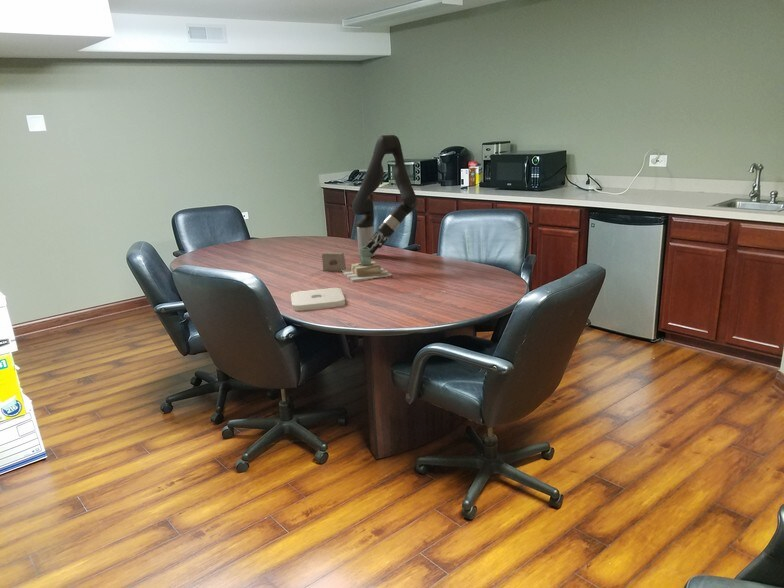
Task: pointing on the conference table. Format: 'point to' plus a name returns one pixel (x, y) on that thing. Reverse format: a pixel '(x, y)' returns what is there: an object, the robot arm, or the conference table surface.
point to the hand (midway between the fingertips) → (368, 251)
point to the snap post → (365, 256)
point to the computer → (317, 299)
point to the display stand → (365, 272)
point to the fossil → (333, 261)
